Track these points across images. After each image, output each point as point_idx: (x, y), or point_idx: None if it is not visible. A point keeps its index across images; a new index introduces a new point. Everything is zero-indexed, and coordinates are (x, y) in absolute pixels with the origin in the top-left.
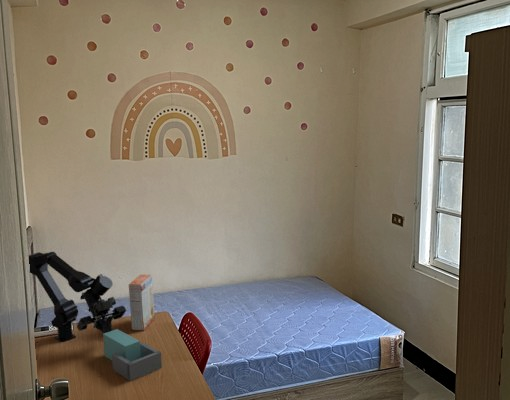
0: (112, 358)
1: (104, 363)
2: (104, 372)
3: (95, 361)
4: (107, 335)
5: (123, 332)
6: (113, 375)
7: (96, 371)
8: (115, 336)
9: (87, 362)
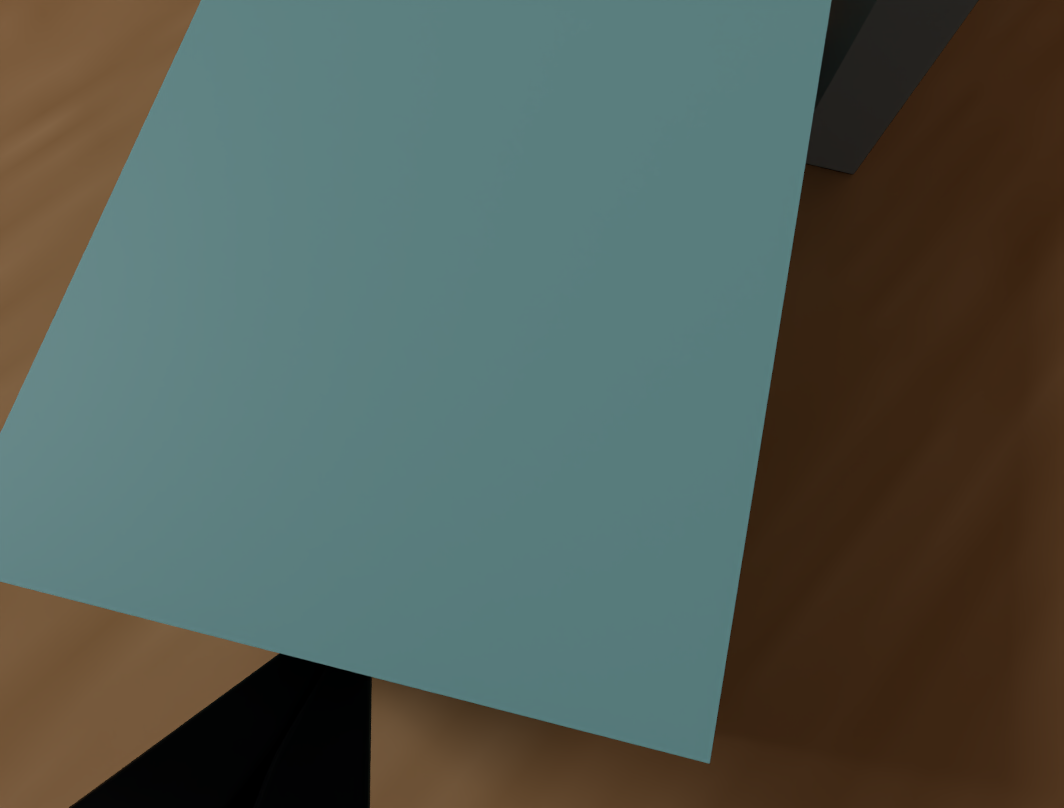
0: (959, 18)
1: (793, 458)
2: (986, 227)
3: (845, 683)
4: (720, 414)
5: (172, 71)
6: (952, 59)
7: (1054, 359)
8: (609, 78)
9: (972, 803)
